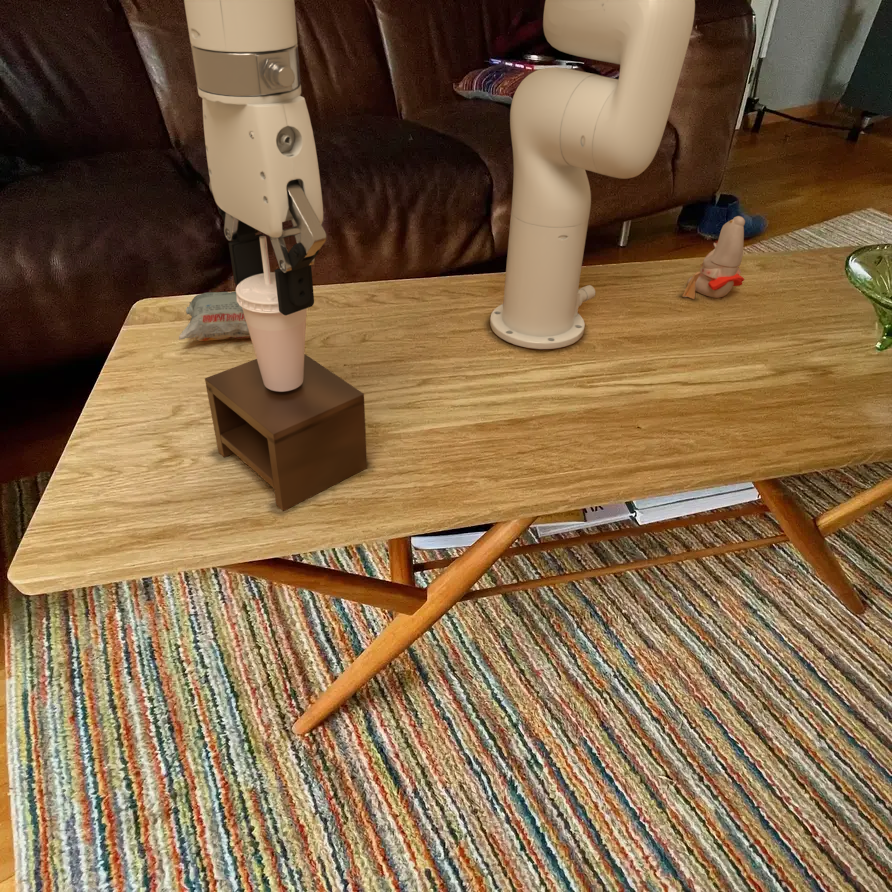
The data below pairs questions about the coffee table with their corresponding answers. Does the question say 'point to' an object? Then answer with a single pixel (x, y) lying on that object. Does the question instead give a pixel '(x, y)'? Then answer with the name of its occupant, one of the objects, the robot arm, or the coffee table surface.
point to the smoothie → (273, 329)
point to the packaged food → (215, 317)
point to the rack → (290, 428)
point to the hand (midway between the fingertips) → (273, 293)
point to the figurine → (720, 263)
